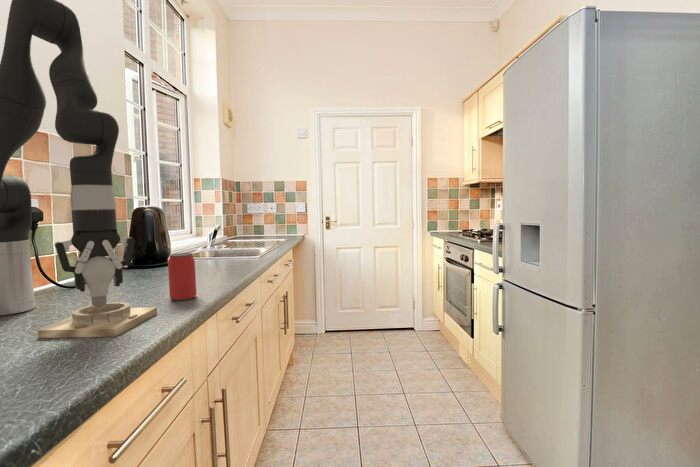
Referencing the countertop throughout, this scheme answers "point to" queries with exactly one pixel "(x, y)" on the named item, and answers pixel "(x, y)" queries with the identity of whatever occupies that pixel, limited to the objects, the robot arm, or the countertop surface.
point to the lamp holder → (98, 321)
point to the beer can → (182, 276)
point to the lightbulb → (98, 278)
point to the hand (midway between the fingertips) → (99, 288)
